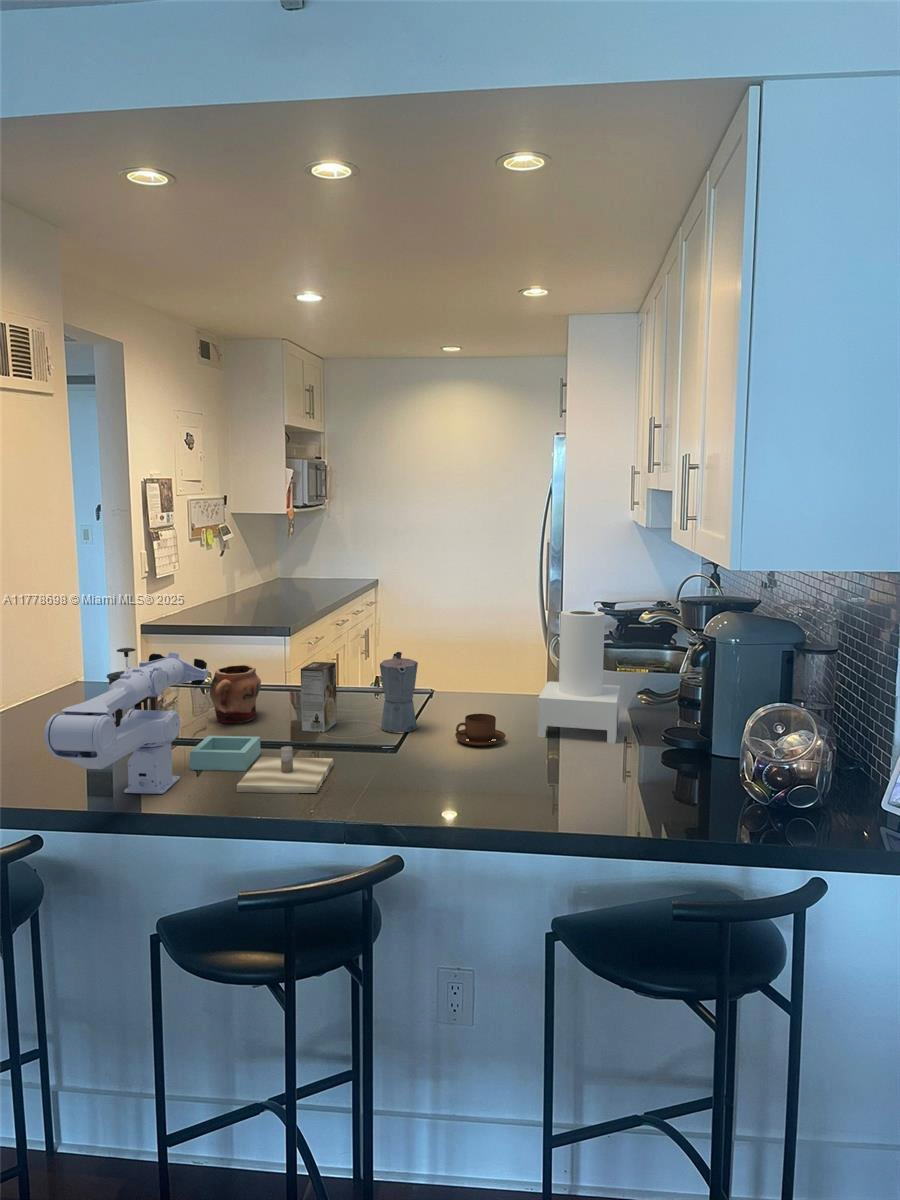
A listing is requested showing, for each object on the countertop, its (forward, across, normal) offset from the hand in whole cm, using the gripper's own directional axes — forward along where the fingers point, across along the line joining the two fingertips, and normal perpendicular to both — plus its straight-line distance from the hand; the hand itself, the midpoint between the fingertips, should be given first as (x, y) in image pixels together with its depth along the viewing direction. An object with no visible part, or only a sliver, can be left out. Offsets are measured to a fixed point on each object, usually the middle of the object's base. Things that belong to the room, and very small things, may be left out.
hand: (188, 664), depth 192 cm
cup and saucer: (+19, -66, +14) cm, 70 cm away
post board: (-12, -28, +19) cm, 36 cm away
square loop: (-2, -12, +20) cm, 23 cm away
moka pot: (+28, -45, +15) cm, 55 cm away
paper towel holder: (+32, -91, +10) cm, 97 cm away
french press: (+8, +15, +22) cm, 28 cm away
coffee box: (+27, -25, +17) cm, 41 cm away
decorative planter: (+30, -2, +19) cm, 36 cm away
